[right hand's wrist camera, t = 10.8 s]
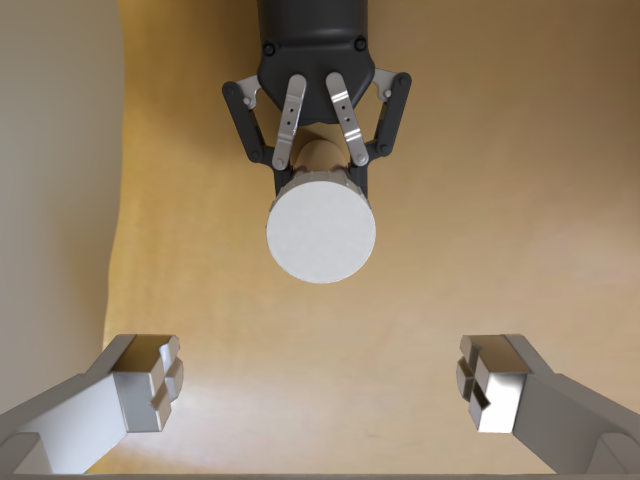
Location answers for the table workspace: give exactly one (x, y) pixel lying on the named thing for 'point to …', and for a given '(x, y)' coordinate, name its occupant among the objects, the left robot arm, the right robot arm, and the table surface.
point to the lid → (320, 227)
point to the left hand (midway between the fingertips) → (322, 210)
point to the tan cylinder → (320, 159)
